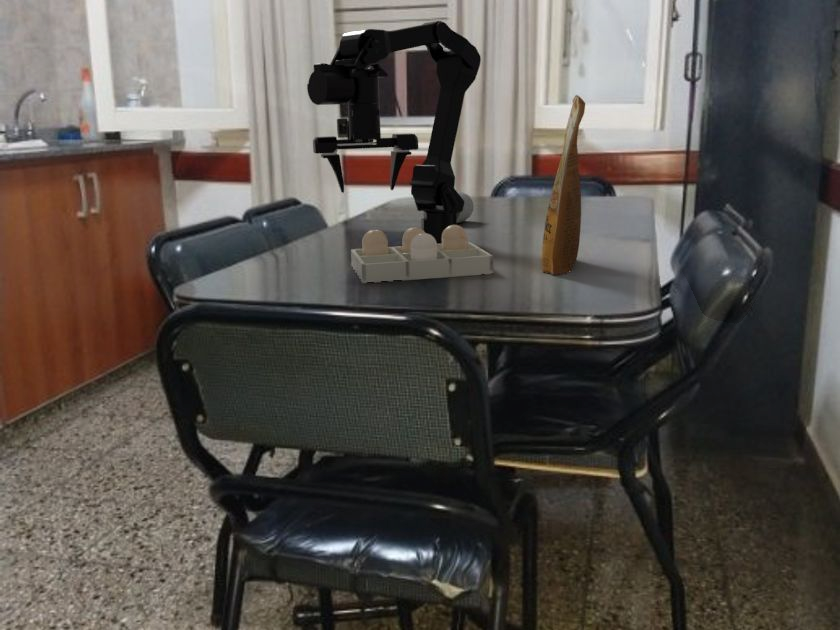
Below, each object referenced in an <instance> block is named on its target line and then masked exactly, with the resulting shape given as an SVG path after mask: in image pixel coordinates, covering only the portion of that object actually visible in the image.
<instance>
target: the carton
mask: <svg viewBox="0 0 840 630" xmlns="http://www.w3.org/2000/svg"><path fill="white" fill-rule="evenodd" d="M420 233H425V232H424V230H422V229H421V227H416V226H414V227H413V226H412V227H410V228H408V229H406V230H405V231H404V233H403V235H402V238H401V239H402V241H401V242H402V243H401V244H402V246H399V245H398V246H389V242H388V241H389V240H388V237H387V235H386V234H385V233H384V232H383V231H381V230H379V229H370V230H369V231H367V232H365V233H364V235H363V237H362V240H361V245H362V246H361V247H362V248H351V249H350V258H351V259H350V263H351V268H352V267H353V268H352V269H353V270H355V271H354V272H355V274H356V273H357V274H356V275H357V277H358V276H359V277H358V278H359V280H360V279H361V280H360V282H361V283H362V284H368V283H367V282H374V283H382V282H381V281H388V282H394V281H393V280H402V281H414V280H426V279H427V280H428V279H430V280H431V279H443V278H453V277H455V278H456V277H467V276H468V277H470V276H480V275H481V274H485V275H492V274H491V273H493V274H494V255H492V254H490V253H489V252H487V251H486V250H484V249H482V248H481V247H479V246H477V245H476V244H474V243H473V242H471V241H468V235H467V232H466V230H465V229H464V228H463V227H462V226H460V225H458V224H457V225H450V226H448V227H447V228H445V230H444V231H443V233H442V243H438V244H437V259H429V260H414V261H411V248H410V246H411V241H412V239H413V238H414V237H415V236H416V235H418V234H420ZM481 276H482V275H481Z"/></svg>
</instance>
